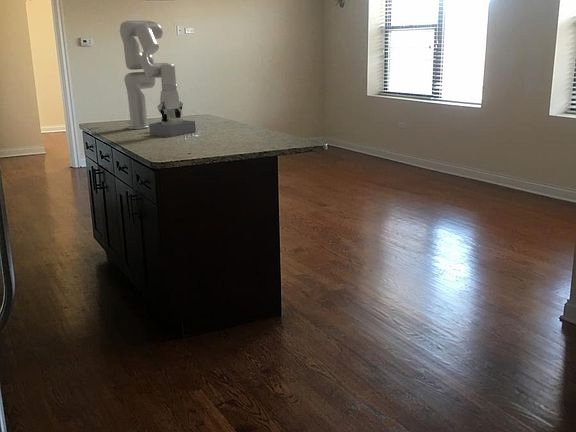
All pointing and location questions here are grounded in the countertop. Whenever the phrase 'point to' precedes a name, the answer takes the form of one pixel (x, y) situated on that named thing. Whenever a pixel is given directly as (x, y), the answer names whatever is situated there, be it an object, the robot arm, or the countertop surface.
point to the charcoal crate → (172, 128)
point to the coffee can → (172, 113)
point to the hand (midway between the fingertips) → (171, 120)
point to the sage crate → (173, 121)
